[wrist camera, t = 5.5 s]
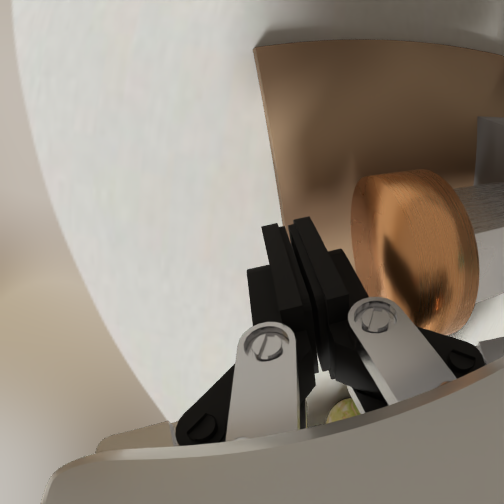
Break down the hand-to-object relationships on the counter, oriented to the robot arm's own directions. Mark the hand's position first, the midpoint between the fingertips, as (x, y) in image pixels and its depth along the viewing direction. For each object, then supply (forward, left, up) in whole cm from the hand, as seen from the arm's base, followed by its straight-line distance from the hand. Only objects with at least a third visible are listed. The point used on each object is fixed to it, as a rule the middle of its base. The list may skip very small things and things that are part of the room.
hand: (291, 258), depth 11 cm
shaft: (0, -10, -1) cm, 11 cm away
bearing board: (0, -10, -4) cm, 11 cm away
